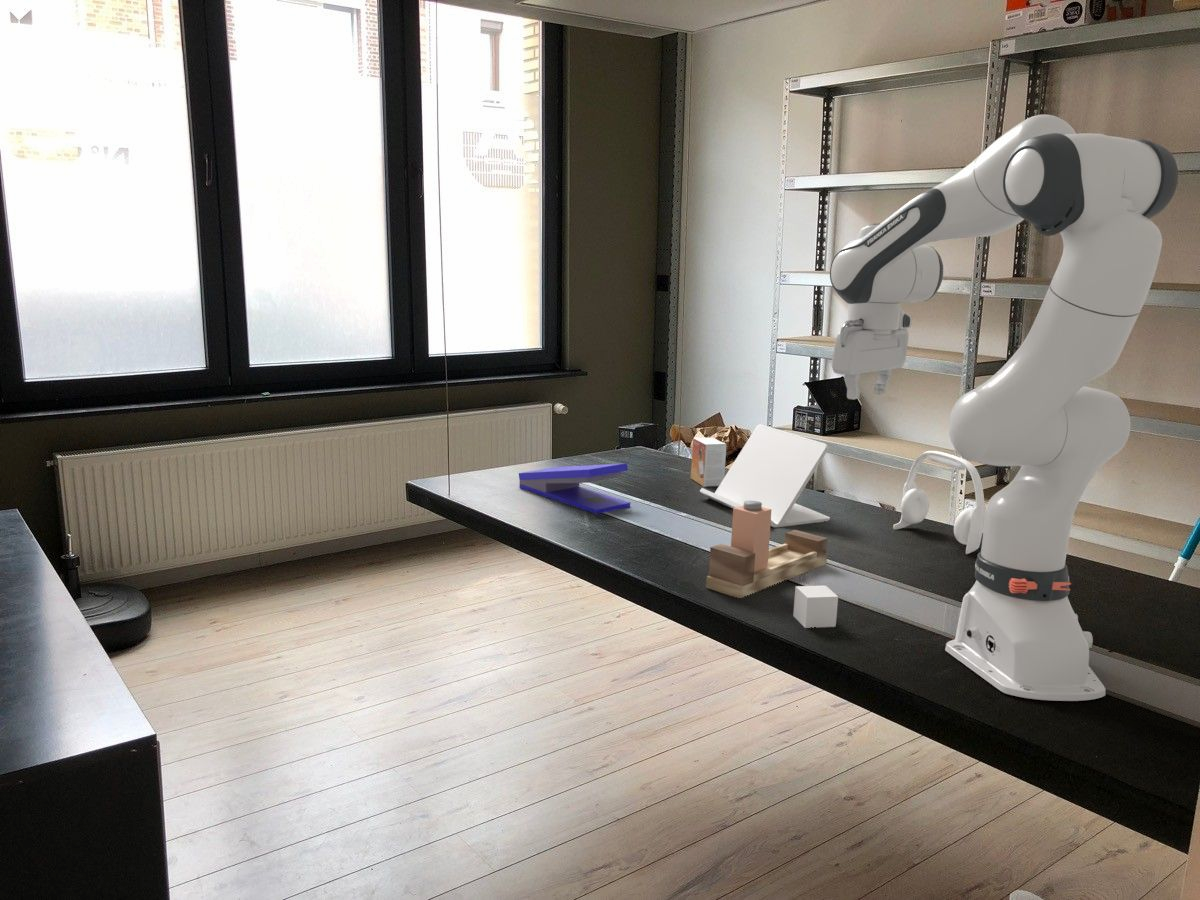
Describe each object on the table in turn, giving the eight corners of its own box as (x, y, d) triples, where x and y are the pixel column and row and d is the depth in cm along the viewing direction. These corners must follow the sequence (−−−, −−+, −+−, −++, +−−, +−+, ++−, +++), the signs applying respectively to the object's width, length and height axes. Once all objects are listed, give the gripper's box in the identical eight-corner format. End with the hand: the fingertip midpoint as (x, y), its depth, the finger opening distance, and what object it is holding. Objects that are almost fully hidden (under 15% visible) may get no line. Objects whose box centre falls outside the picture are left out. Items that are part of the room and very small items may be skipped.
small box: (690, 479, 241) (692, 437, 239) (711, 478, 242) (713, 436, 240) (703, 487, 233) (705, 444, 231) (724, 486, 235) (726, 443, 233)
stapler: (593, 515, 207) (595, 471, 205) (515, 488, 227) (516, 447, 225) (633, 507, 214) (635, 464, 212) (554, 482, 235) (555, 442, 233)
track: (793, 554, 183) (796, 519, 182) (826, 563, 179) (829, 527, 177) (705, 587, 164) (708, 547, 163) (739, 598, 159) (742, 557, 158)
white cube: (822, 615, 154) (825, 585, 153) (835, 627, 149) (838, 596, 148) (792, 616, 153) (795, 586, 152) (804, 628, 148) (807, 597, 147)
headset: (989, 553, 188) (999, 463, 185) (961, 556, 186) (971, 465, 182) (916, 525, 206) (925, 443, 203) (890, 528, 203) (898, 444, 200)
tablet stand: (762, 493, 230) (767, 422, 226) (831, 521, 208) (838, 443, 204) (697, 500, 222) (701, 427, 218) (761, 530, 200) (767, 449, 196)
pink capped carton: (745, 564, 170) (749, 497, 167) (767, 571, 166) (772, 503, 164) (729, 570, 166) (733, 502, 164) (751, 577, 163) (756, 508, 161)
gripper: (859, 321, 161) (852, 404, 164) (916, 317, 175) (909, 393, 178) (826, 318, 165) (820, 399, 168) (884, 315, 180) (878, 389, 183)
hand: (866, 396), depth 173 cm, fingers open, 8 cm apart
